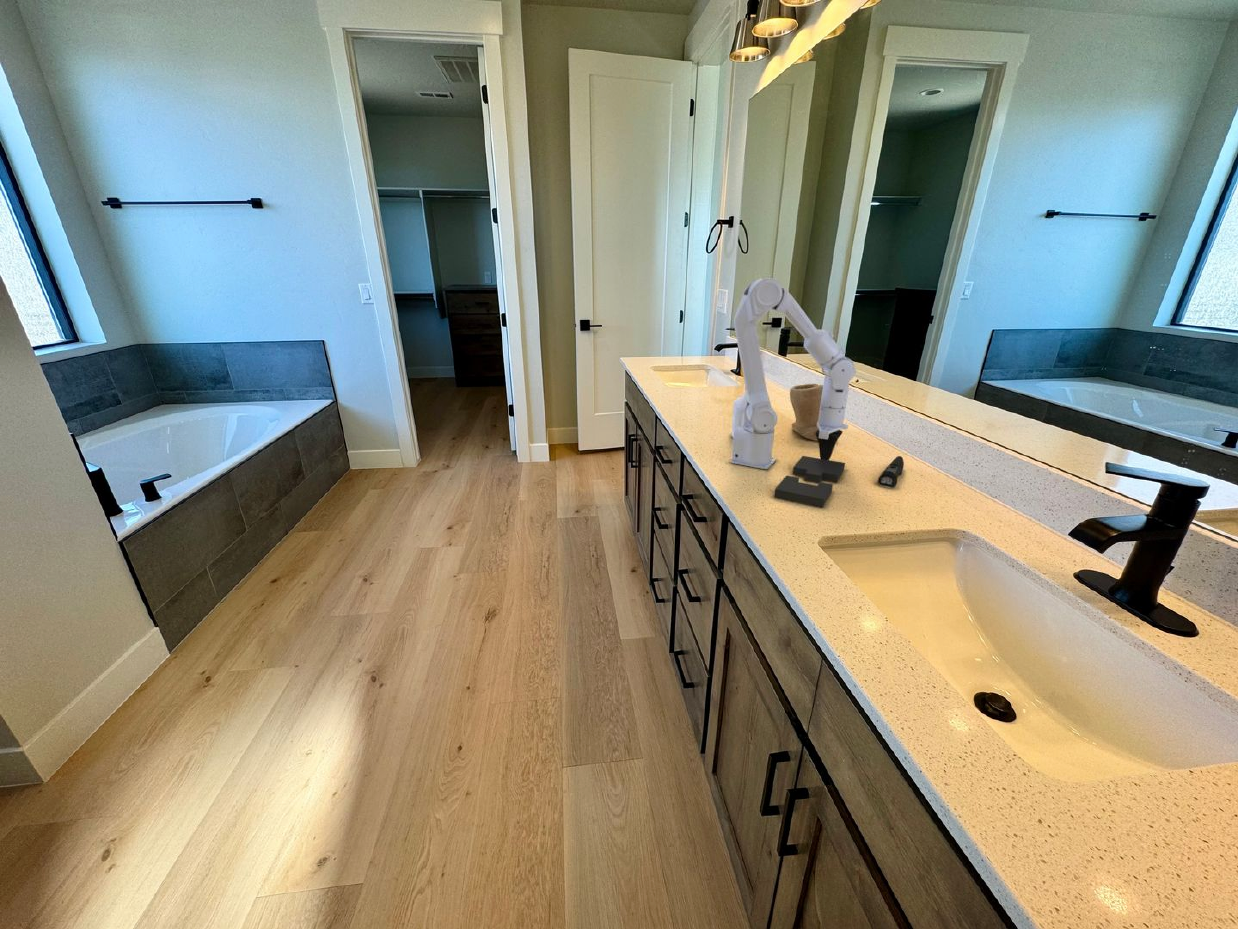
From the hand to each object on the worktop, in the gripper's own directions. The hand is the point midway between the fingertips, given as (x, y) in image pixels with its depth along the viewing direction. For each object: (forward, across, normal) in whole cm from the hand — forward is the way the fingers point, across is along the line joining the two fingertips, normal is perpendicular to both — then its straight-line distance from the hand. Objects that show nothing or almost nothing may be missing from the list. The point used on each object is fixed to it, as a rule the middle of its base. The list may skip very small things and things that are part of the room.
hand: (825, 458), depth 123 cm
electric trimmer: (+2, -1, -15) cm, 15 cm away
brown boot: (+2, +22, +9) cm, 24 cm away
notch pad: (+1, -22, 0) cm, 22 cm away
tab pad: (+1, -8, 0) cm, 8 cm away
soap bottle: (+2, +11, +24) cm, 26 cm away
